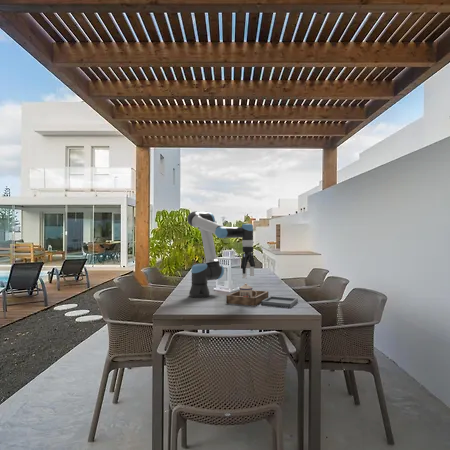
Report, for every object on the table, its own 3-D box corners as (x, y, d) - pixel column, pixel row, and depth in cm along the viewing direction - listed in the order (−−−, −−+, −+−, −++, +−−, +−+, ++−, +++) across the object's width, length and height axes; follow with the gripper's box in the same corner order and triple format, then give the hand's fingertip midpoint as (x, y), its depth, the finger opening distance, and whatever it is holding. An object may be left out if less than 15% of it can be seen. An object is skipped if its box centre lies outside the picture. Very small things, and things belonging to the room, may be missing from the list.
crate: (226, 303, 228) (226, 295, 228) (241, 296, 252) (241, 289, 252) (255, 305, 219) (255, 297, 219) (268, 298, 243) (268, 291, 243)
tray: (261, 305, 221) (261, 301, 221) (270, 299, 238) (270, 296, 238) (290, 307, 213) (290, 303, 213) (297, 302, 230) (297, 298, 230)
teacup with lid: (238, 301, 232) (238, 284, 232) (240, 299, 241) (240, 282, 241) (256, 302, 230) (256, 284, 230) (257, 299, 239) (257, 282, 239)
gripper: (246, 247, 223) (246, 279, 223) (259, 245, 246) (259, 275, 245) (235, 246, 226) (236, 279, 226) (249, 245, 249) (249, 274, 248)
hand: (248, 277), depth 235 cm, fingers open, 13 cm apart
